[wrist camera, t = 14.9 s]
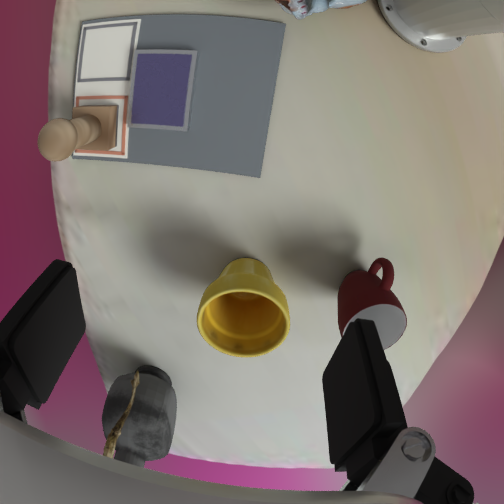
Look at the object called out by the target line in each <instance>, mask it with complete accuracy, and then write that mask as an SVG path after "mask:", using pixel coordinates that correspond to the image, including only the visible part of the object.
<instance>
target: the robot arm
mask: <svg viewBox="0 0 504 504" xmlns="http://www.w3.org/2000/svg"><path fill="white" fill-rule="evenodd" d="M377 1H378V4H379V8H380V10H381V12H382V14H383V16H384V18H385V19H386V21H387V22H388V24H389V25H390V26H391V28H392V29H393V30H394V31H395V32H396V33H397V34H398V35H399V36H400V37H401V38H403V39H404V40H405V41H407V42H408V43H410V44H411V45H413V46H415V47H417V48H419V49H421V50H425V51H429V52H437V53H439V52H447V51H451V50H454V49H456V48H457V47H459V46H460V45H461V44H462V43H463V42H464V40H465V39H466V37H467V36H471V35H481V34H491V33H504V0H377ZM386 8H388V10H387V9H386ZM420 41H421V42H422V44H421V42H420ZM85 328H86V324H85V319H84V314H83V309H82V304H81V299H80V293H79V288H78V282H77V275H76V270H75V268H73V267H72V264H71V263H70V262H66V261H62V260H58V259H56V260H54V261H53V262H52V263H51V264H50V265H49V266H48V267H47V268H46V270H45V271H44V272H43V273H42V274H41V275H40V276H39V277H38V278H37V280H35V282H34V283H33V284H32V285H31V286H30V287H29V289H28V290H27V291H26V292H25V293H24V294H23V295H22V297H21V298H20V299H19V300H18V301H17V303H16V304H15V305H14V306H13V307H12V309H11V310H10V311H9V312H8V313H7V315H6V316H5V317H4V318H3V320H2V321H1V323H0V504H474V503H473V500H474V491H473V487H472V486H471V484H470V482H469V481H468V480H466V479H465V478H464V477H462V476H461V475H459V474H458V473H457V472H455V471H454V470H453V469H451V468H450V467H448V466H447V465H445V464H444V463H443V462H442V461H440V460H438V459H437V458H436V457H435V451H436V450H435V443H434V441H433V439H432V437H431V436H430V434H428V433H427V432H426V431H425V430H423V429H421V428H418V427H409V428H408V427H407V423H406V419H405V416H404V412H403V408H402V404H401V400H400V397H399V393H398V390H397V386H396V383H395V379H394V376H393V372H392V369H391V366H390V364H389V362H388V361H387V359H386V356H385V353H384V350H383V347H382V343H381V340H380V337H379V334H378V331H377V328H376V325H375V322H374V321H373V320H368V319H360V318H357V319H356V320H355V321H354V322H350V323H349V325H348V327H347V329H346V331H345V333H344V335H343V337H342V339H341V340H340V342H339V344H338V346H337V348H336V350H335V352H334V354H333V356H332V358H331V360H330V361H329V363H328V365H327V367H326V369H325V371H324V373H323V378H322V382H323V391H324V401H325V411H326V421H327V432H328V443H329V456H330V462H331V464H335V472H339V471H340V472H342V471H347V479H348V481H347V482H346V483H345V484H344V486H343V487H342V488H341V489H340V490H339V491H294V490H275V489H261V488H250V487H241V486H233V485H225V484H218V483H211V482H206V481H200V480H195V479H189V478H184V477H179V476H175V475H170V474H165V473H162V472H158V471H153V470H150V469H146V468H142V467H139V466H135V465H132V464H128V463H125V462H122V461H118V460H115V459H112V458H109V457H106V456H103V455H100V454H97V453H95V452H91V451H89V450H86V449H83V448H81V447H78V446H76V445H73V444H71V443H68V442H66V441H63V440H61V439H59V438H56V437H54V436H52V435H50V434H47V433H45V432H43V431H41V430H39V429H37V428H34V427H32V426H30V425H28V424H27V421H26V416H25V412H24V408H25V406H26V404H28V405H30V406H32V407H34V408H36V409H39V408H40V406H41V404H42V403H46V401H47V400H48V398H49V396H50V394H51V392H52V390H53V388H54V386H55V384H56V383H57V381H58V379H59V376H60V375H61V373H62V371H63V370H64V368H65V366H66V364H67V362H68V360H69V359H70V357H71V355H72V353H73V352H74V350H75V348H76V346H77V345H78V343H79V341H80V339H81V338H82V336H83V334H84V332H85ZM476 504H478V503H476Z"/></svg>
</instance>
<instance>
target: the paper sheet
mask: <svg viewBox="0 0 504 504" xmlns="http://www.w3.org/2000/svg"><path fill="white" fill-rule="evenodd" d="M140 24H141V19H130V20H118V21H108V22H99V23H91V24H84V25H83V26H82V32H81V39H80V46H79V54H78V63H77V73H76V85H75V100H74V107H78V106H83V105H119V113H118V130H117V146H116V147H114V148H112V149H110V150H108V151H105V150H84V149H75V150H74V152H73V155H77V156H96V157H112V158H126V159H127V158H128V135H129V127H127V126H128V111H129V98H130V88H131V78H132V69H133V61H134V53H135V50H137V43H138V36H139V30H140Z"/></svg>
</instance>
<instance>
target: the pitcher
mask: <svg viewBox="0 0 504 504" xmlns="http://www.w3.org/2000/svg"><path fill="white" fill-rule="evenodd" d="M171 385H172V382H171V380H170V377H169V376H168V375H167V374H166V373H165V372H164V371H162V370H161V369H159V368H156V367H153V366H142V367H139V368H138V369H137V371H136V372H135V373H132V374H127V375H122V376H119V377H118V378H117V379H116V380H115V381H114V383H113V384H112V386H111V388H110V390H109V392H108V395H107V398H106V401H105V405H104V409H103V414H102V424H103V431H104V435H105V438H106V440H107V441H106V444H105V447H104V453H103V456H106V457H109V458H112V459H113V455H114V450H116V453H115V457H114V459H115V460H118V461H122V462H125V463H128V464H132V465H135V466H139V467H142V468H144V464H145V461H152V460H157V459H161V458H163V457H165V456H166V455H167V454H168V452H169V449H170V446H171V443H172V439H173V434H174V428H175V421H176V410H177V401H176V394H175V391H174V389H173V387H172V386H171Z"/></svg>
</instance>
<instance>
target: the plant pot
mask: <svg viewBox="0 0 504 504" xmlns="http://www.w3.org/2000/svg"><path fill="white" fill-rule="evenodd" d="M197 326H198V329H199V332H200V334H201V336H202V337H203V339H204V340H205V341H206V342H207V343H208V344H209V345H210V346H212V347H213V348H215V349H216V350H218V351H220V352H222V353H225V354H228V355H231V356H236V357H256V356H260V355H264V354H266V353H269V352H271V351H272V350H274V349H276V348H277V347H278V346H280V345H281V344H282V342H283V341H284V340H285V338H286V337H287V335H288V332H289V329H290V316H289V309H288V304H287V300H286V297H285V295H284V293H283V292H282V290H281V289H280V288H279V287H278V286H277V285H276V284H275V283H274V280H273V278H272V276H271V273H270V271H269V269H268V268H267V267H266V266H265V265H264V264H263V263H262V262H260V261H258V260H255V259H251V258H240V259H237V260H234V261H232V262H230V263H229V264H228V265H227V266H226V267H225V268H224V270H223V271H222V273H221V274H220V276H219V278H218V279H217V280H215V281H214V282H212V283H211V284H210V285H209V286H208V287H207V289H206V290H205V292H204V294H203V296H202V299H201V302H200V305H199V309H198V313H197Z"/></svg>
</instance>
